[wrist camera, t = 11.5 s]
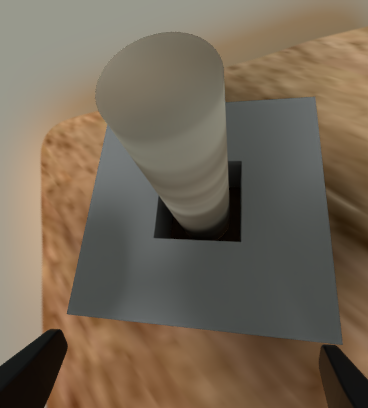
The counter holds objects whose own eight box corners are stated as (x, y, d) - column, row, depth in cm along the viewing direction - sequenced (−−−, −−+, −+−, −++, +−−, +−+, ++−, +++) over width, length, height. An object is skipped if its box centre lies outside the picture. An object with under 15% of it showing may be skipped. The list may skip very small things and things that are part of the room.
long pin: (239, 227, 18) (250, 92, 6) (194, 251, 18) (119, 159, 6) (215, 187, 20) (187, 14, 8) (173, 209, 20) (80, 69, 8)
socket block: (316, 333, 15) (342, 344, 12) (100, 310, 18) (66, 314, 14) (300, 134, 20) (315, 96, 16) (130, 140, 23) (110, 109, 19)
